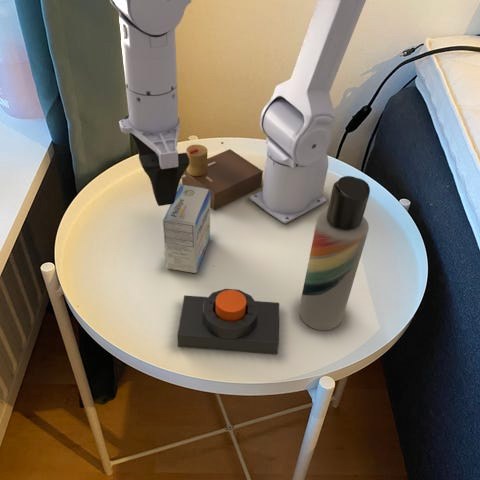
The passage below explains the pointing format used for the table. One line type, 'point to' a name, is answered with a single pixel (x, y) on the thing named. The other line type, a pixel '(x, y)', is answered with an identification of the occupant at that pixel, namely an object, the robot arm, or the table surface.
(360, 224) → the lotion bottle
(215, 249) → the table surface
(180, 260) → the medicine box
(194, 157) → the dial
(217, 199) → the dial panel
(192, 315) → the switch base
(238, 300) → the button
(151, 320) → the table surface
